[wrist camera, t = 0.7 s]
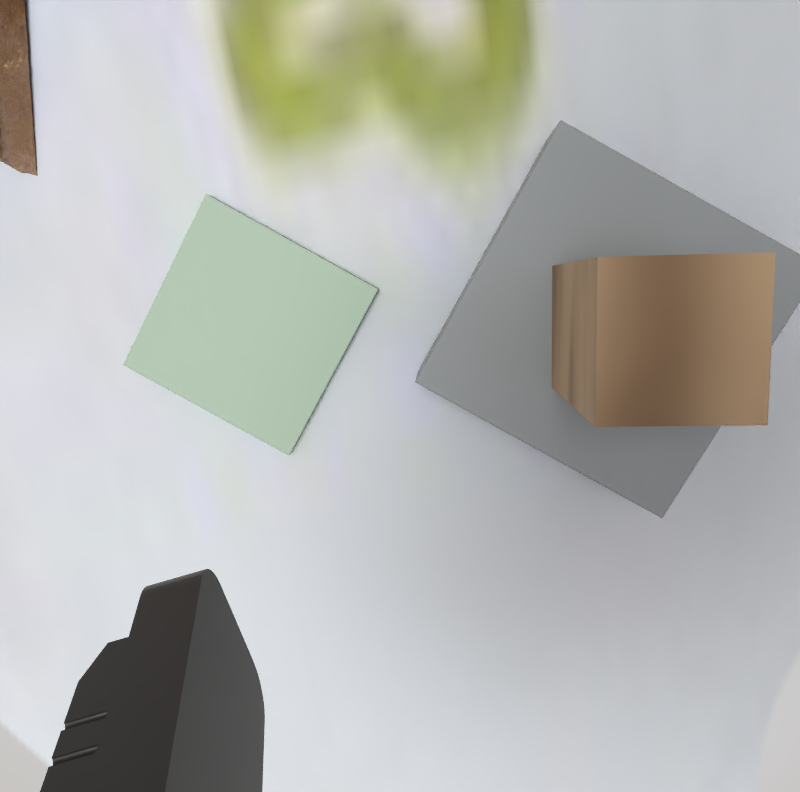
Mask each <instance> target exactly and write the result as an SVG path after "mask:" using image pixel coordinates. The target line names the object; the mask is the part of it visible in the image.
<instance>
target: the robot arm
mask: <svg viewBox="0 0 800 792" xmlns="http://www.w3.org/2000/svg"><path fill="white" fill-rule="evenodd" d="M264 722H265V714H264V702H263V695H262V690H261V685H260V681H259V677H258V673H257V670H256V667H255V665H254V662H253V660H252V657H251V655H250V653H249V650H248V648H247V646H246V643H245V641H244V639H243V636H242V634H241V632H240V629H239V627H238V625H237V622H236V620H235V618H234V615H233V613H232V611H231V608H230V606H229V604H228V601H227V599H226V597H225V594H224V592H223V590H222V587H221V585H220V583H219V581H218V579H217V577H216V576H215V574H214V573H213V572H212V571H211V570H209V569H205V570H202V571H198V572H195V573H191V574H188V575H184V576H181V577H178V578H174V579H171V580H167V581H164V582H160V583H157V584H153V585H150V586H147V587H145V588H144V589H143V591H142V593H141V596H140V600H139V603H138V607H137V610H136V614H135V617H134V621H133V624H132V628H131V631H130V635H129V637H127V638H123V639H120V640H116V641H113V642H109V643H108V644H107V645H106V646H105V648H104V649H103V650H102V652H101V653H100V654H99V655H98V657H97V658H96V659H95V661H94V662H93V663H92V665H91V666H90V667H89V669H88V670H87V671H86V673H85V674H84V675H83V676H82V678H81V679H80V680H79V682H78V684H77V687H76V690H75V693H74V696H73V699H72V702H71V704H70V707H69V710H68V713H67V716H66V719H65V722H64V723H65V730H63V731H61V733H60V736H59V739H58V742H57V745H56V748H55V750H54V753H53V756H52V759H53V766H51V767H49V768H48V771H47V773H46V776H45V780H44V782H43V785H42V788H41V791H40V792H262V780H263V751H264Z"/></svg>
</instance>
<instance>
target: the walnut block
mask: <svg viewBox="0 0 800 792" xmlns="http://www.w3.org/2000/svg"><path fill="white" fill-rule="evenodd" d="M775 256H776V252H767V253H728V254H688V255H649V256H609V257H594V258H589V259H584V260H579V261H574V262H569V263H564V264H559V265H554V266H552V388H553V389H554V390H555V391H556V392H557V393H558V394H559V395H561V396H562V397H563V398H564V399H565V400H566V401H567V402H568V403H569V404H570V405H572V406H573V407H574V408H575V409H576V410H577V411H578V412H579V413H580V414H581V415H582V416H584V417H585V418H586V419H587V420H588V421H589V422H590V423H591V424H592V425H593V426H594V427H643V426H728V425H767V421H768V400H769V380H770V359H771V339H772V318H773V298H774V277H775Z"/></svg>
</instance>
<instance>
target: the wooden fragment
mask: <svg viewBox="0 0 800 792" xmlns="http://www.w3.org/2000/svg"><path fill="white" fill-rule="evenodd" d="M33 127H34V126H33V116H32V104H31V88H30V80H29V62H28V42H27V31H26V20H25V3H24V0H0V161H1V162H4V163H5V164H7V165H9V166H11V167H12V168H14V169H16V170H18V171H20V172H22V173H30V174H33V175H37V171H36V157H35V140H34V130H33Z"/></svg>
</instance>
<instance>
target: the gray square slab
mask: <svg viewBox="0 0 800 792" xmlns="http://www.w3.org/2000/svg"><path fill="white" fill-rule="evenodd" d="M767 252H776V256H775V277H774V298H773V318H772V339H771V346H772V345H773V343H774V342H775V340H776V338H777V337H778V335H779V334H780V332H781V331H782V329H783V327H784V326H785V324H786V323H787V321H788V320H789V318H790V316H791V315H792V313H793V312H794V310H795V309H796V307H797V305H798V304H799V302H800V254H798V253H796V252H794V251H793V250H791V249H789V248H787V247H786V246H784V245H782V244H780V243H778V242H777V241H775V240H773V239H771V238H770V237H768V236H766V235H764V234H762V233H761V232H759V231H757V230H755V229H753V228H752V227H750V226H748V225H746V224H745V223H743V222H741V221H739V220H737V219H736V218H734V217H732V216H730V215H729V214H727V213H725V212H723V211H721V210H720V209H718V208H716V207H714V206H713V205H711V204H709V203H707V202H705V201H704V200H702V199H700V198H698V197H696V196H695V195H693V194H691V193H689V192H688V191H686V190H684V189H682V188H680V187H679V186H677V185H675V184H673V183H672V182H670V181H668V180H666V179H664V178H663V177H661V176H659V175H657V174H656V173H654V172H652V171H650V170H648V169H647V168H645V167H643V166H641V165H640V164H638V163H636V162H634V161H632V160H631V159H629V158H627V157H625V156H623V155H622V154H620V153H618V152H616V151H615V150H613V149H611V148H609V147H607V146H606V145H604V144H602V143H600V142H599V141H597V140H595V139H593V138H591V137H590V136H588V135H586V134H584V133H583V132H581V131H579V130H577V129H575V128H574V127H572V126H570V125H568V124H567V123H565V122H563V121H560V122H559V124H558V125H557V127H556V128H555V129H554V131H553V132H552V134H551V135H550V137H549V138H548V139H547V141H546V143H545V145H544V146H543V148H542V150H541V152H540V154H539V155H538V157H537V159H536V161H535V163H534V164H533V166H532V168H531V170H530V172H529V173H528V175H527V177H526V179H525V181H524V182H523V184H522V186H521V188H520V190H519V191H518V193H517V195H516V197H515V199H514V200H513V202H512V204H511V206H510V208H509V209H508V211H507V213H506V215H505V217H504V218H503V220H502V222H501V224H500V226H499V227H498V229H497V231H496V233H495V235H494V236H493V238H492V240H491V242H490V244H489V245H488V247H487V249H486V251H485V253H484V254H483V256H482V258H481V260H480V262H479V263H478V265H477V267H476V269H475V271H474V272H473V274H472V276H471V278H470V280H469V281H468V283H467V285H466V287H465V289H464V290H463V292H462V294H461V296H460V298H459V299H458V301H457V303H456V305H455V307H454V308H453V310H452V312H451V314H450V316H449V317H448V319H447V321H446V323H445V325H444V326H443V328H442V330H441V332H440V334H439V335H438V337H437V339H436V341H435V343H434V344H433V346H432V348H431V350H430V352H429V353H428V355H427V357H426V359H425V361H424V362H423V364H422V366H421V368H420V370H419V371H418V375H417V378H416V381H415V382H416V383H418V384H420V385H421V386H423V387H425V388H427V389H429V390H430V391H432V392H434V393H436V394H438V395H440V396H441V397H443V398H445V399H447V400H449V401H450V402H452V403H454V404H456V405H458V406H459V407H461V408H463V409H465V410H467V411H469V412H470V413H472V414H474V415H476V416H478V417H479V418H481V419H483V420H485V421H487V422H489V423H490V424H492V425H494V426H496V427H498V428H499V429H501V430H503V431H505V432H507V433H508V434H510V435H512V436H514V437H516V438H518V439H519V440H521V441H523V442H525V443H527V444H528V445H530V446H532V447H534V448H536V449H537V450H539V451H541V452H543V453H545V454H547V455H548V456H550V457H552V458H554V459H556V460H557V461H559V462H561V463H563V464H565V465H567V466H568V467H570V468H572V469H574V470H576V471H577V472H579V473H581V474H583V475H585V476H586V477H588V478H590V479H592V480H594V481H596V482H597V483H599V484H601V485H603V486H605V487H606V488H608V489H610V490H612V491H614V492H615V493H617V494H619V495H621V496H623V497H625V498H626V499H628V500H630V501H632V502H634V503H635V504H637V505H639V506H641V507H643V508H645V509H646V510H648V511H650V512H652V513H654V514H655V515H657V516H659V517H661V518H663V516H664V515H665V513H666V511H667V510H668V508H669V507H670V505H671V504H672V502H673V500H674V499H675V497H676V496H677V494H678V493H679V491H680V489H681V488H682V486H683V485H684V483H685V482H686V480H687V478H688V477H689V475H690V474H691V472H692V471H693V469H694V467H695V466H696V464H697V463H698V461H699V460H700V458H701V456H702V455H703V453H704V452H705V450H706V449H707V447H708V445H709V444H710V442H711V441H712V439H713V438H714V436H715V434H716V433H717V431H718V430H719V428H720V427H721V426H643V427H594V426H593V425H592V424H591V423H590V422H589V421H588V420H587V419H586V418H585V417H584V416H582V415H581V414H580V413H579V412H578V411H577V410H576V409H575V408H574V407H573V406H572V405H570V404H569V403H568V402H567V401H566V400H565V399H564V398H563V397H562V396H561V395H559V394H558V393H557V392H556V391H555V390H554V389H553V388H552V266H554V265H559V264H564V263H569V262H574V261H579V260H584V259H589V258H594V257H609V256H649V255H688V254H728V253H767Z"/></svg>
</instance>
